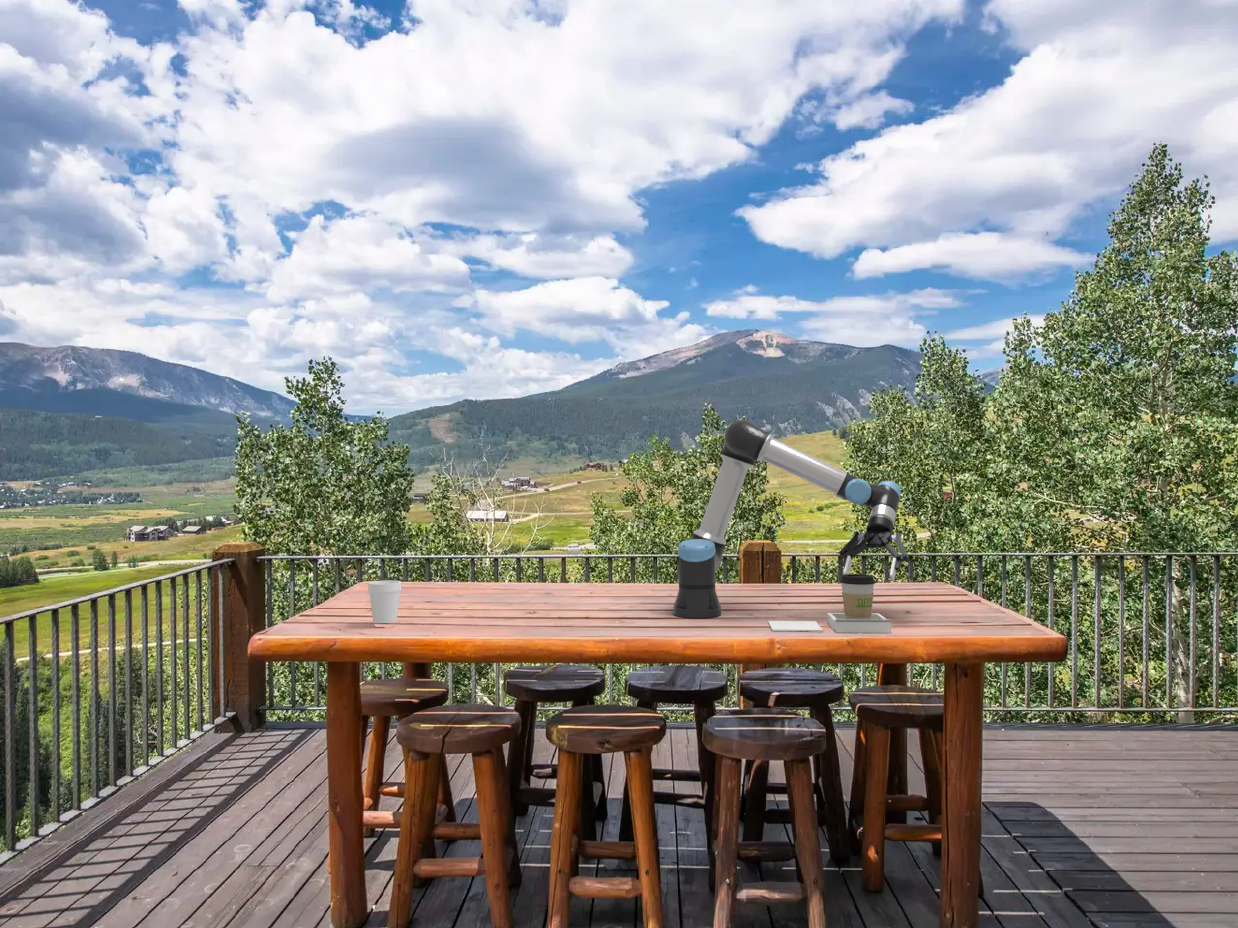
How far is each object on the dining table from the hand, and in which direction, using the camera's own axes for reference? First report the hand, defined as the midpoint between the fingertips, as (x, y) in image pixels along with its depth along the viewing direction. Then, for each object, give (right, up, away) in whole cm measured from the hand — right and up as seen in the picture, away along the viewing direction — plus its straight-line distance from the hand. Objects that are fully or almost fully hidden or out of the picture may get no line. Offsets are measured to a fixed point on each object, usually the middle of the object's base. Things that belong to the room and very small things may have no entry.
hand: (868, 576), depth 240 cm
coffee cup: (-5, -14, -6) cm, 16 cm away
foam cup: (-144, -15, +2) cm, 144 cm away
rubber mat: (-23, -14, -5) cm, 27 cm away
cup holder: (-5, -14, -6) cm, 16 cm away
